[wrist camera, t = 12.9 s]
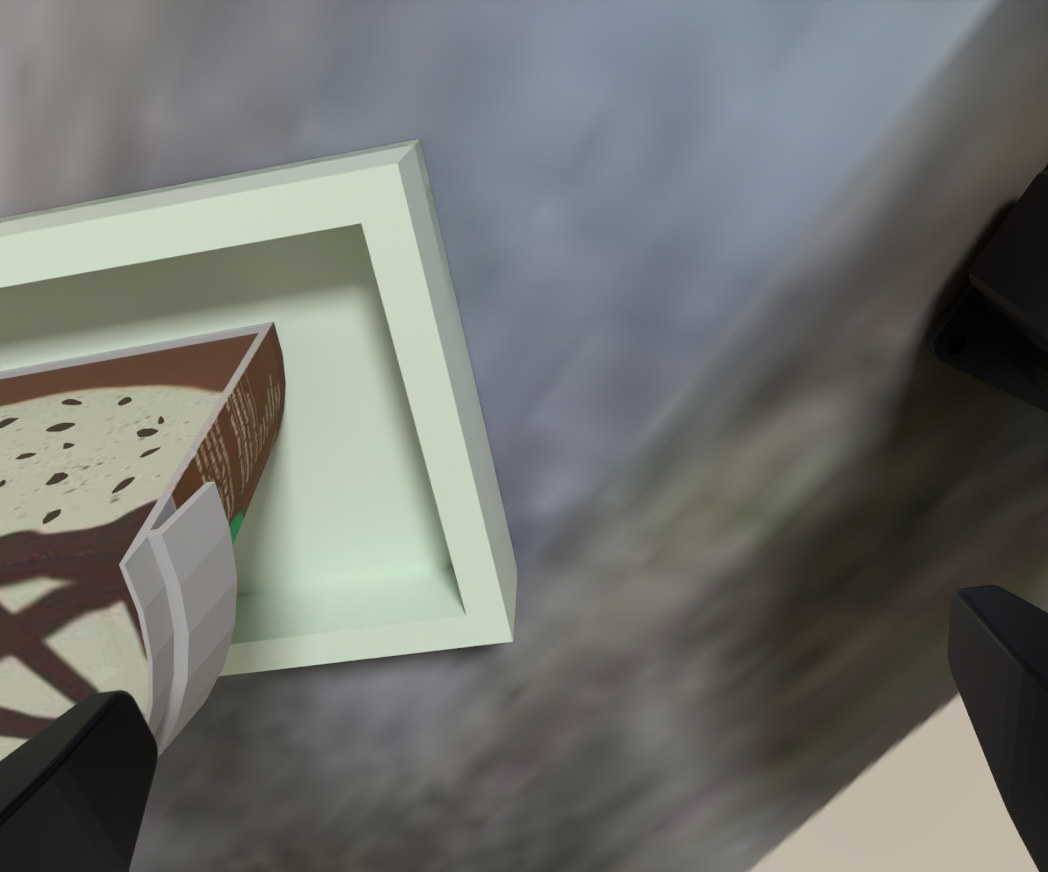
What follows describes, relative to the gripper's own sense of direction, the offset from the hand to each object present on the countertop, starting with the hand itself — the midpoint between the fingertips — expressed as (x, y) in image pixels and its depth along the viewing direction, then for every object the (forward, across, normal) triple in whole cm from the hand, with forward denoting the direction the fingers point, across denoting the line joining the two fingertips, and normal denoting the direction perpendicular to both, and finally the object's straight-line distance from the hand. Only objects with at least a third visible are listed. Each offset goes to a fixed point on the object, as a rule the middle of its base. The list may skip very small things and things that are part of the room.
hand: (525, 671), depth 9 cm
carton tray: (+13, +11, +2) cm, 17 cm away
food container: (+12, +11, +2) cm, 17 cm away
